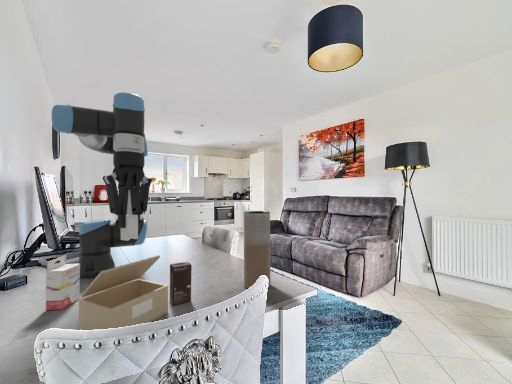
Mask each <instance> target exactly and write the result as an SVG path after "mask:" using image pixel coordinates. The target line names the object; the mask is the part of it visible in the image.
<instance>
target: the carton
mask: <svg viewBox="0 0 512 384" xmlns="http://www.w3.org/2000/svg"><path fill="white" fill-rule="evenodd" d="M167 314H169V285H167V284H164V283H158V282H155V281H150V280H146V279H141V278H137V279H135V280H132V281H129V282H126V283H123V284H120V285H117V286H114V287H111V288H108V289H106V290H103V291H100V292H97V293H94V294H91V295H88V296H85V297H82V298H81V297H80V298H79V299H78V330H79V329H82V330H93V329H108V328H118V327H125V326H131V325H136V324H141V323H147V322H151V323H153V322H155V321H156V320H158V319H160V318H162V317H164V316H166V315H167ZM152 321H153V322H152Z"/></svg>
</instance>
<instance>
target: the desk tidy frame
mask: <svg viewBox="0 0 512 384" xmlns="http://www.w3.org/2000/svg"><path fill="white" fill-rule="evenodd" d="M65 255H66V260H68V259H72V258H77V257H79V256H80V252H79V251H75V252H70V253H64V254H60V255H55V256H49V257H43V258H39V259H38V262H39V263H41V265H40V266H42V267H43V266H44V267H47V264H48V261H46V260H47V259H50V258H56V257H57V258H58V257H62V256H65ZM78 260H79V259H76V260H70V261H66V264H77V263H78ZM57 263H58V262H55V263H54V264H57Z"/></svg>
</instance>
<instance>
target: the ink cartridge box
mask: <svg viewBox="0 0 512 384" xmlns="http://www.w3.org/2000/svg"><path fill="white" fill-rule="evenodd" d="M66 262H67V259H66V255H65V256H62V257H58V258H56V259H53V260H50V261H48V264H47V266H46V272H45V273H46V274H45V276H46V278H45V279H46V280H45V281H46V282H45V310H46V311H54V310H55V311H56V310H57V311H58V310H61V311H62V310H63V309H65V308H66V307H69V306H70V305H72V303H74V302H76V301H79V299H80V288H81V287H80V286H81V282H80V280H81V278H80V264H66ZM54 263H57V264H54Z"/></svg>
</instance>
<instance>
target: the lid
mask: <svg viewBox="0 0 512 384" xmlns="http://www.w3.org/2000/svg"><path fill="white" fill-rule="evenodd" d="M160 258H161V256H160V255H156V256H152V257H148V258H145V259H144V258H143V259H141V260H137V261H134V262H131V263H127V264H122V265H120V266H115V268H112V269H108V270H104V271H101V272H100V273H99V274H98V275H97V277H94V279H93V281H91V283H89V285H88V286H87V287H86V288H85V290H84V291H83V292H82V293H81V294H80V299H81V298H84V297H87V296H90V295H93V294H96V293H99V292H101V291H104V290H107V289H110V288H113V287H116V286H119V285H122V284H125V283H127V282H130V281H133V280H136V279H141V278H142V276H144V275H145V274H146V272H148V270H149V269H151V267H152V266H153V265H154V264H155V263H156V262H157V261H158V260H159V259H160Z"/></svg>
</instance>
